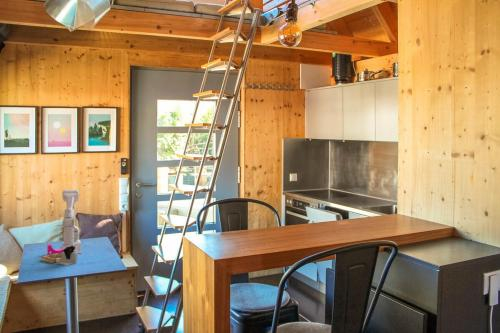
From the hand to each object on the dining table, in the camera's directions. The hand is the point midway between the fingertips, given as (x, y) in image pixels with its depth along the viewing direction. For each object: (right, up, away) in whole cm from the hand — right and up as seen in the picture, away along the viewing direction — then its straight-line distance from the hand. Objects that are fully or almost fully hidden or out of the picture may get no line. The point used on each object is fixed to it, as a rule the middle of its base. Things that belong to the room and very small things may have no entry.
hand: (69, 258), depth 278 cm
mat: (0, -3, 0) cm, 3 cm away
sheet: (0, -2, 0) cm, 2 cm away
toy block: (-17, -2, +25) cm, 30 cm away
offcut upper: (-8, 0, +10) cm, 12 cm away
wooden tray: (-10, -2, +7) cm, 13 cm away
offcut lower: (-8, -2, +10) cm, 13 cm away
